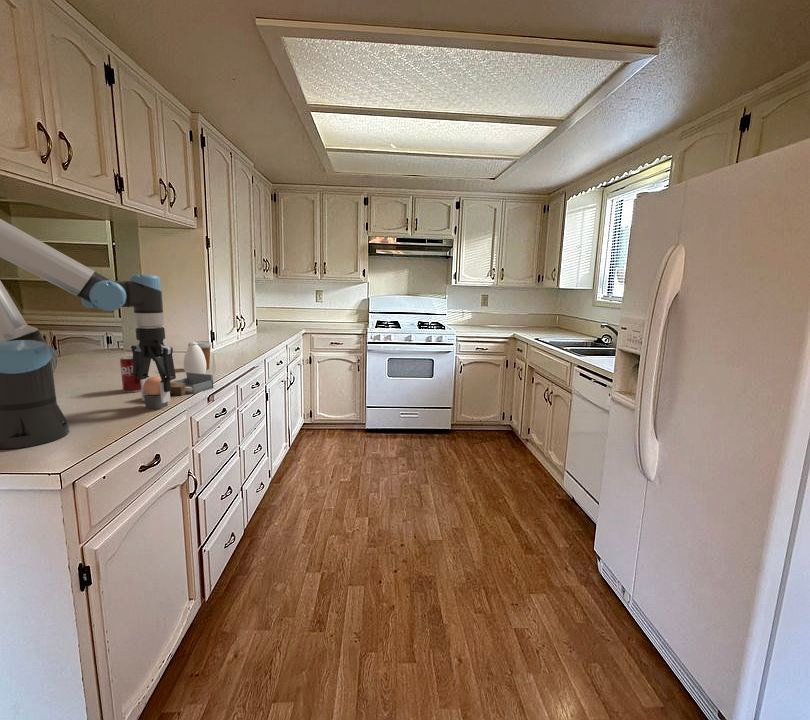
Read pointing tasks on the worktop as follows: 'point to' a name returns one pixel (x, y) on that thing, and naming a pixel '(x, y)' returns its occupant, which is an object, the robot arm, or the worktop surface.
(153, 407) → the grey cube with hole
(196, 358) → the sauce bottle
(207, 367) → the disposable coffee cup
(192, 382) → the tray
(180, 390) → the ramp
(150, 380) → the ball
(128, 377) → the soda can
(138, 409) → the worktop surface
